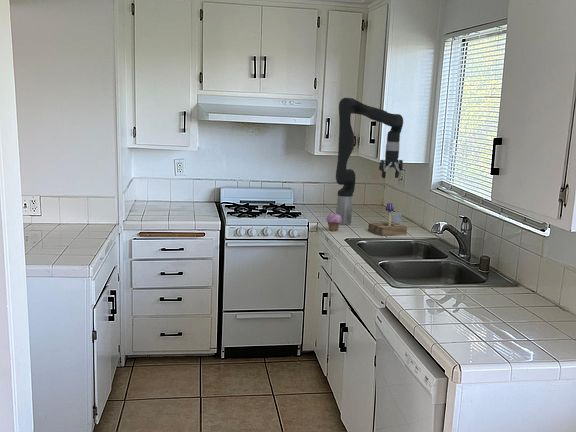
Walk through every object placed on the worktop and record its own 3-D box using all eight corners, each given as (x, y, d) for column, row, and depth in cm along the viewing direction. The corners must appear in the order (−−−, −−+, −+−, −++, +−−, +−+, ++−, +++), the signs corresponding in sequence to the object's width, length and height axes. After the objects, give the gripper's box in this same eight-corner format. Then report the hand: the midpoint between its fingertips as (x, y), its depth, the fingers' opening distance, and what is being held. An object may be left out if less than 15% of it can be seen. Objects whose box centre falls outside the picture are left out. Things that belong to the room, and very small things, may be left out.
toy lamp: (383, 232, 337) (384, 203, 335) (387, 231, 341) (388, 202, 338) (390, 233, 334) (392, 204, 332) (394, 232, 338) (395, 203, 335)
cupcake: (324, 228, 340) (325, 211, 338) (338, 228, 342) (339, 211, 340) (328, 232, 332) (328, 214, 330) (342, 232, 333) (343, 214, 331)
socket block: (368, 230, 340) (368, 222, 339) (391, 229, 346) (391, 221, 345) (382, 236, 326) (383, 227, 326) (406, 234, 333) (406, 226, 332)
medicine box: (400, 226, 355) (401, 212, 354) (400, 228, 351) (401, 213, 349) (387, 225, 357) (388, 211, 356) (387, 226, 353) (388, 212, 351)
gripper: (399, 149, 338) (396, 176, 341) (378, 148, 332) (375, 177, 336) (406, 150, 331) (404, 178, 335) (385, 150, 326) (383, 179, 329)
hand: (390, 177), depth 335 cm, fingers open, 8 cm apart
